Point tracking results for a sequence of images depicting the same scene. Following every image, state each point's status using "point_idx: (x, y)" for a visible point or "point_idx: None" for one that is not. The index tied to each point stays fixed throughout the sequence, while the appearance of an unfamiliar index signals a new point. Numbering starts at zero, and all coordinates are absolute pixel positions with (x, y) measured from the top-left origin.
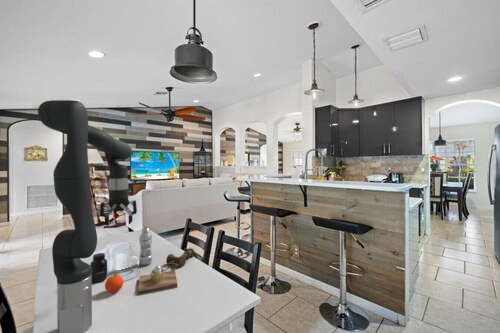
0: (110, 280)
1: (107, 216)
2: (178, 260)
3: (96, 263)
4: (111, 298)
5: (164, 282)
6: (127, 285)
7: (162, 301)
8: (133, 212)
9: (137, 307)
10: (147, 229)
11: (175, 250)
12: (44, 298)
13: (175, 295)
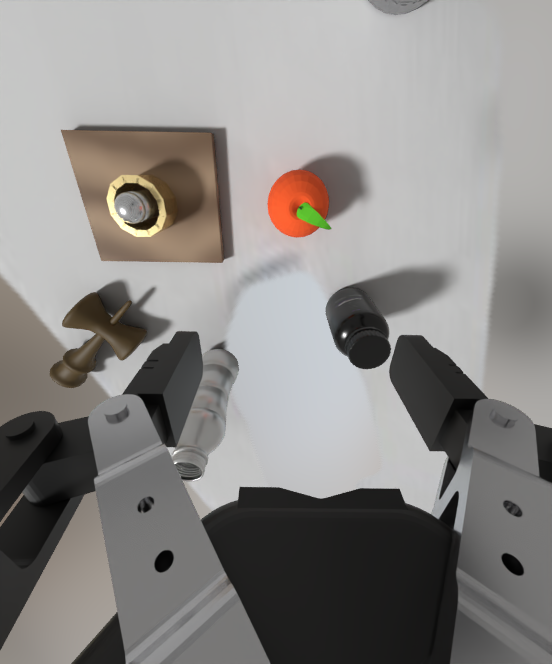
0: (311, 185)
1: (479, 410)
2: (85, 303)
3: (370, 318)
4: (301, 150)
5: (119, 167)
6: (258, 230)
7: (105, 18)
8: (58, 446)
9: (199, 13)
10: (175, 458)
11: None
12: (485, 247)
13: (60, 51)
